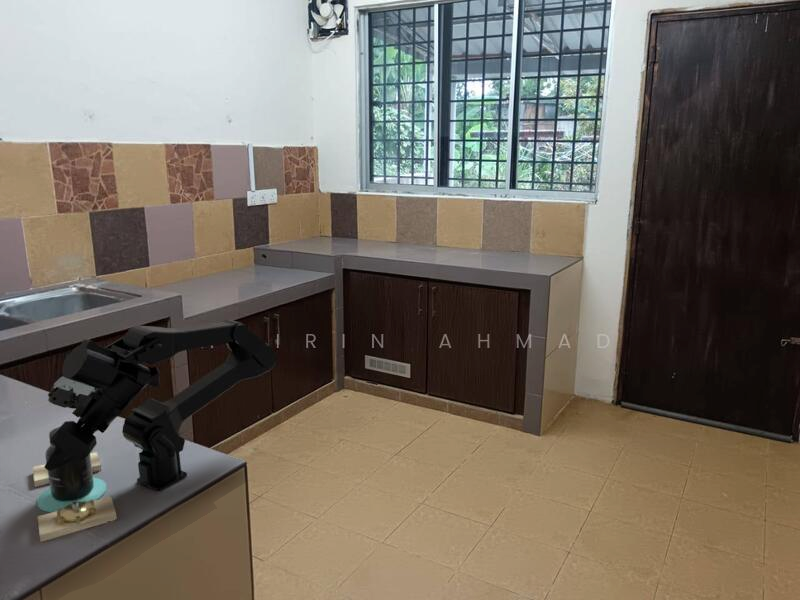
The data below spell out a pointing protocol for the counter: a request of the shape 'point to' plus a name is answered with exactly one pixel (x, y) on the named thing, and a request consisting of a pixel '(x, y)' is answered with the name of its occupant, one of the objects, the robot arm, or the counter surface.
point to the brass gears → (76, 512)
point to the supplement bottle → (70, 477)
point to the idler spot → (52, 505)
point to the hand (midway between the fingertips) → (57, 455)
